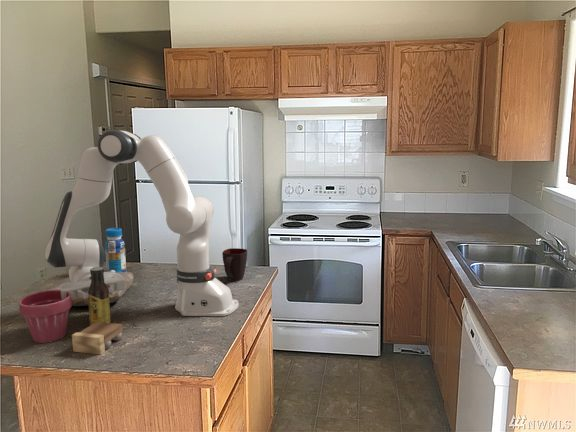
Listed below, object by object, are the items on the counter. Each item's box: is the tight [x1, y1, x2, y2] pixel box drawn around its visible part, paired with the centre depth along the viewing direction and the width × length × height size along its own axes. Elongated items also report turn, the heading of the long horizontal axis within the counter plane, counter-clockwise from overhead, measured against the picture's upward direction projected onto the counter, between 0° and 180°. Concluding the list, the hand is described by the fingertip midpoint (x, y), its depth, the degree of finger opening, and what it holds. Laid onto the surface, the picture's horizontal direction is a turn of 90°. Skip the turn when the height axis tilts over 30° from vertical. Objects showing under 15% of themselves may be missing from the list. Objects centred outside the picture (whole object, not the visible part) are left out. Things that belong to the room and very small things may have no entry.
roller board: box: [71, 322, 124, 355], centre depth 143 cm, size 9×11×5 cm
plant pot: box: [18, 290, 73, 344], centre depth 148 cm, size 14×14×13 cm
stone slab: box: [45, 271, 135, 307], centre depth 184 cm, size 31×29×6 cm
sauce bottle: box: [88, 267, 111, 326], centre depth 154 cm, size 6×6×20 cm
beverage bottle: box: [104, 227, 127, 273], centre depth 213 cm, size 8×8×20 cm
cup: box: [221, 247, 248, 282], centre depth 203 cm, size 10×14×12 cm
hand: (98, 294), depth 153 cm, fingers closed on sauce bottle, 6 cm apart
